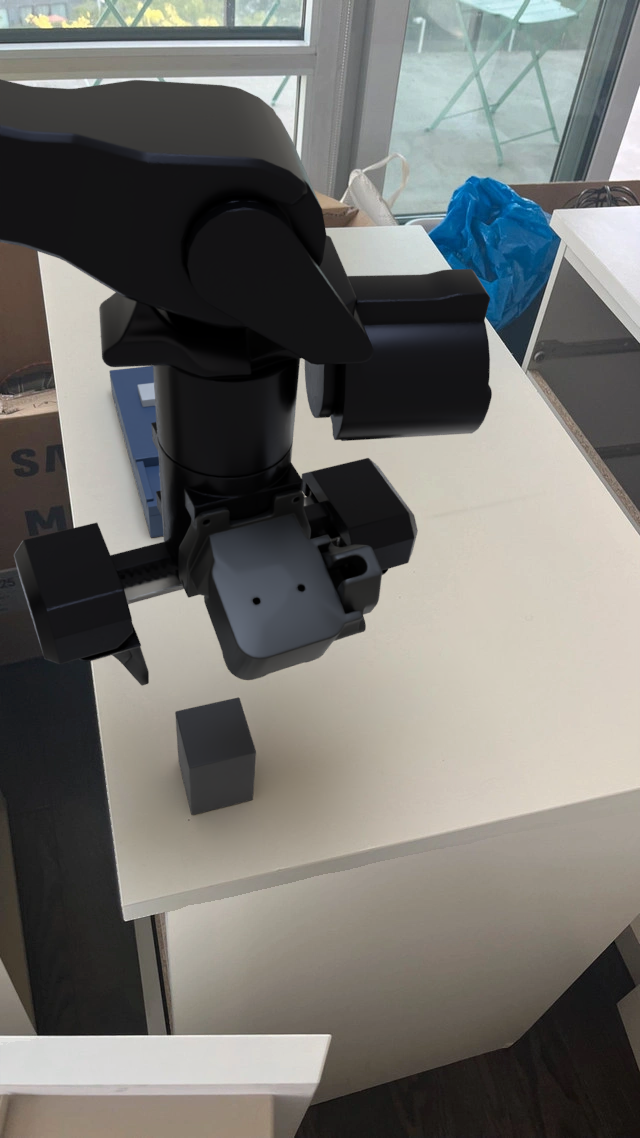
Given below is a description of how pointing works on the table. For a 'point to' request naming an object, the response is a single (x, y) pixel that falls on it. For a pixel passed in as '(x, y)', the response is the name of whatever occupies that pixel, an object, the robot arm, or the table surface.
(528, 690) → the table surface
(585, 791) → the table surface
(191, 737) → the block
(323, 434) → the table surface
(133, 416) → the blue long open box
